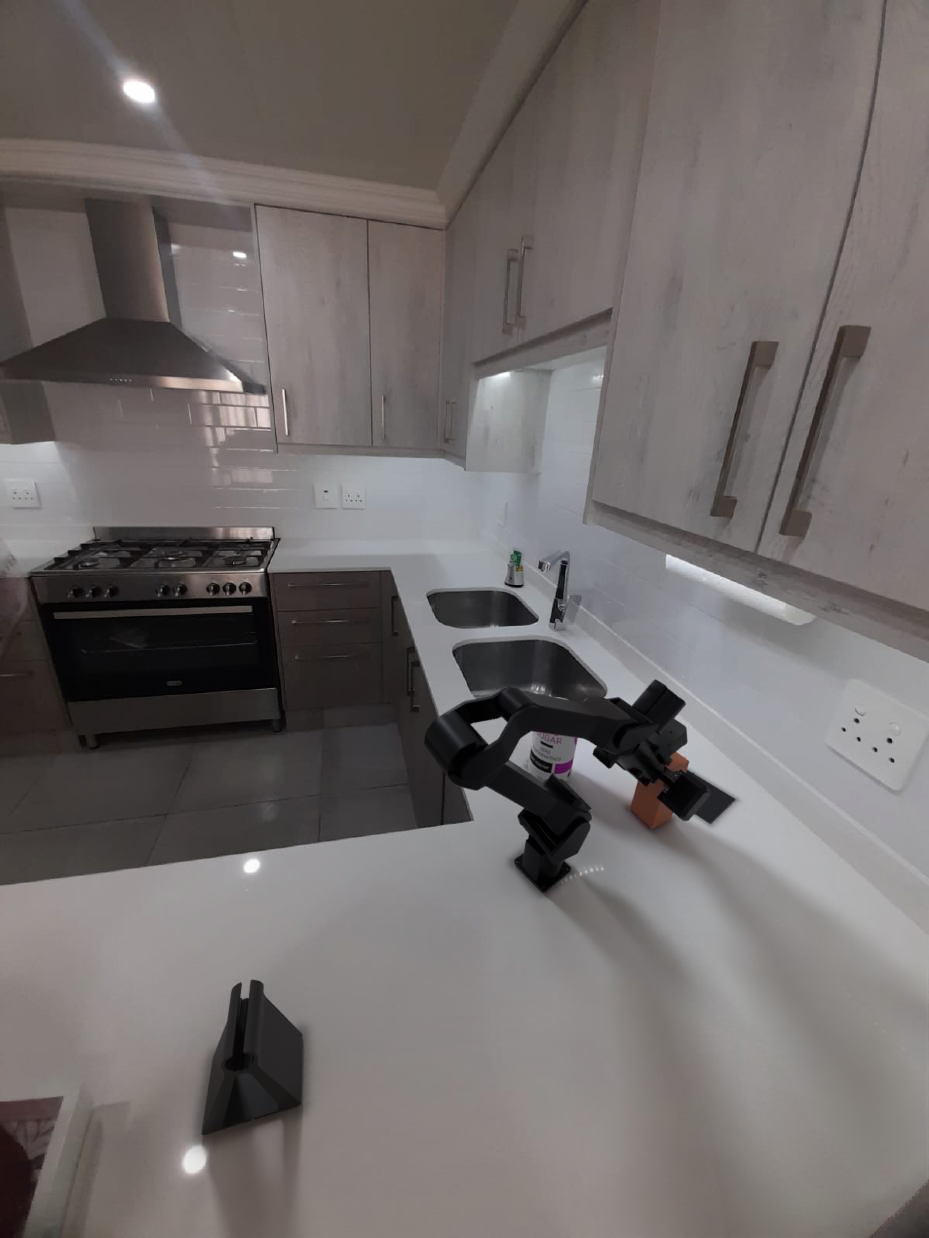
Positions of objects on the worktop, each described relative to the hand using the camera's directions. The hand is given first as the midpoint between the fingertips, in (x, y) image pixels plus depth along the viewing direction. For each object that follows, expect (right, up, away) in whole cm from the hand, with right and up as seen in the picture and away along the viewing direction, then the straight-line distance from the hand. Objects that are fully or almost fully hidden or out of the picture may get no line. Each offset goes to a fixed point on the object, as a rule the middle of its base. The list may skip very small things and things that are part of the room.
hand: (664, 783), depth 85 cm
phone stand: (-56, -19, -35) cm, 69 cm away
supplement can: (-18, -1, +10) cm, 21 cm away
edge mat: (+9, -4, +8) cm, 13 cm away
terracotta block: (-2, -6, +2) cm, 7 cm away
